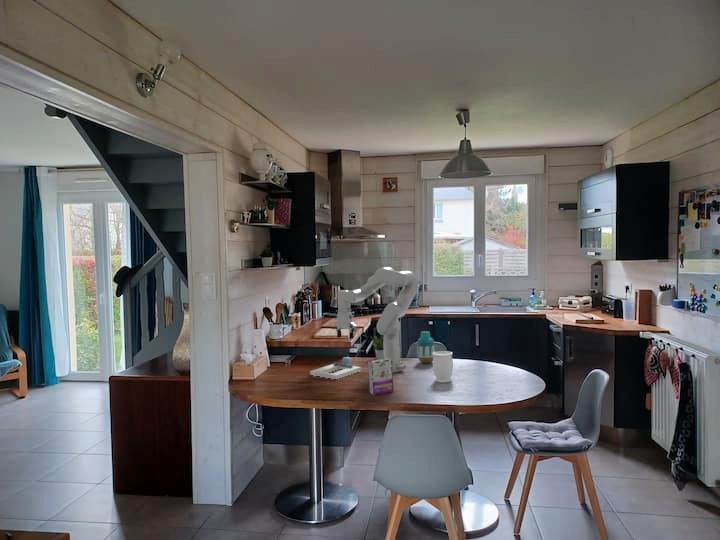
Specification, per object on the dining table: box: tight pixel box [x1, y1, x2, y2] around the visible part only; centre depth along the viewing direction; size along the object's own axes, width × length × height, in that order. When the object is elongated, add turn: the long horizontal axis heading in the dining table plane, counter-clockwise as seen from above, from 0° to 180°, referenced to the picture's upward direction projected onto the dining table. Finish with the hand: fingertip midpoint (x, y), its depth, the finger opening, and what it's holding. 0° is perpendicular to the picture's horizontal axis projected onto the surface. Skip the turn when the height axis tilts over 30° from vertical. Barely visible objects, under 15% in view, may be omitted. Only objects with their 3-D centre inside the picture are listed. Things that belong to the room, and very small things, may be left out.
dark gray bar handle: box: [332, 362, 354, 368], centre depth 294 cm, size 14×2×2 cm, turn 51°
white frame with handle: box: [309, 363, 362, 380], centre depth 289 cm, size 20×22×2 cm
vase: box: [416, 330, 436, 364], centre depth 305 cm, size 11×11×19 cm
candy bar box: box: [367, 358, 394, 396], centre depth 246 cm, size 11×5×16 cm, turn 114°
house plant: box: [371, 335, 384, 360], centre depth 321 cm, size 14×14×16 cm
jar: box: [432, 350, 454, 384], centre depth 263 cm, size 11×10×15 cm
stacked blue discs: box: [342, 356, 352, 365], centre depth 305 cm, size 5×5×6 cm
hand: (345, 338), depth 304 cm, fingers open, 9 cm apart
